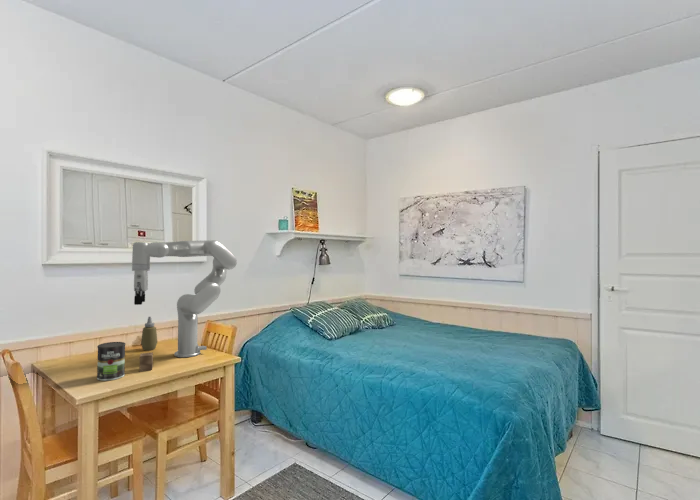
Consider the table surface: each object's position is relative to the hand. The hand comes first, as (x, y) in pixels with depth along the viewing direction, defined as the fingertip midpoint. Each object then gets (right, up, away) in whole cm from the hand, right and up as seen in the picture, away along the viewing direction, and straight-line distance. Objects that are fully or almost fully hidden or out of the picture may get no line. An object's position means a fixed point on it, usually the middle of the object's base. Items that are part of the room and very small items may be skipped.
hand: (139, 303), depth 185 cm
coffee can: (-2, -30, -19) cm, 35 cm away
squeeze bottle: (-9, -29, +26) cm, 40 cm away
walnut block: (+7, -29, -8) cm, 31 cm away
